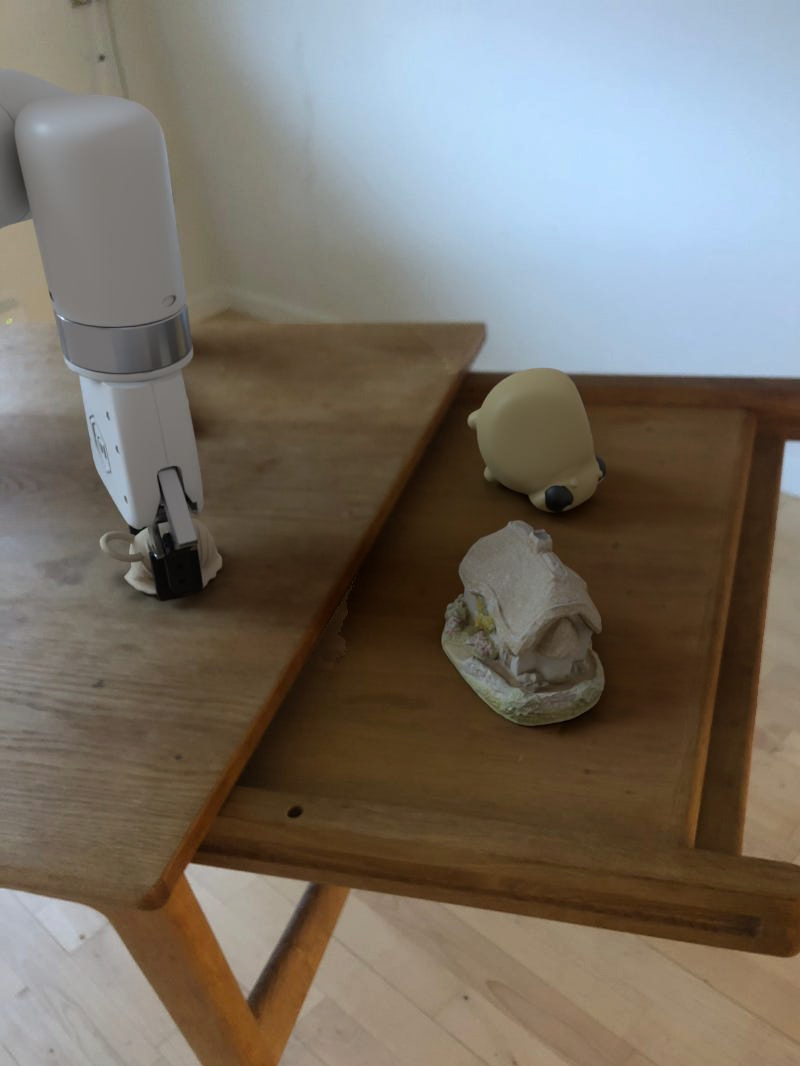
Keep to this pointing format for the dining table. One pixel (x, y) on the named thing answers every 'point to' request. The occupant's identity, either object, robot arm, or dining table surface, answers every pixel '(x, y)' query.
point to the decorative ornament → (141, 545)
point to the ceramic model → (524, 629)
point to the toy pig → (539, 439)
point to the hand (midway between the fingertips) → (168, 572)
